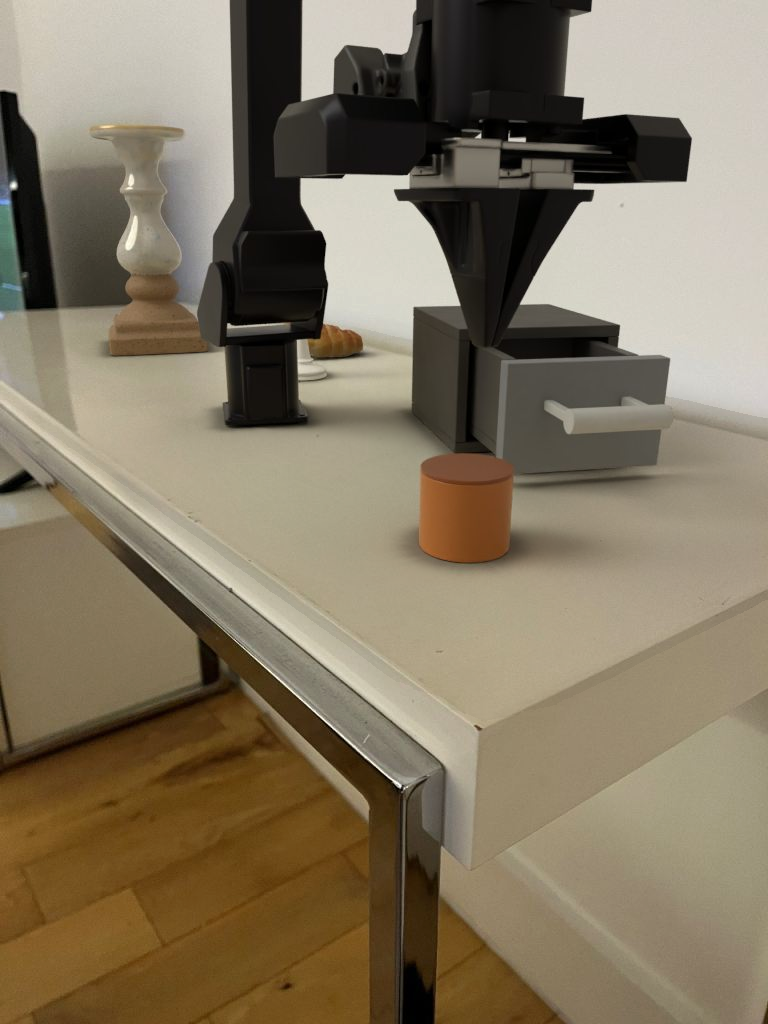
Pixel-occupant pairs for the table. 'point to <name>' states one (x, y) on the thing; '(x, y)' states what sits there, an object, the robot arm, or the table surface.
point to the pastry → (335, 342)
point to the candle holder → (148, 250)
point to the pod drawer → (567, 404)
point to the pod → (465, 507)
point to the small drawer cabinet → (447, 360)
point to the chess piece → (308, 363)
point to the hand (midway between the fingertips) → (484, 346)
